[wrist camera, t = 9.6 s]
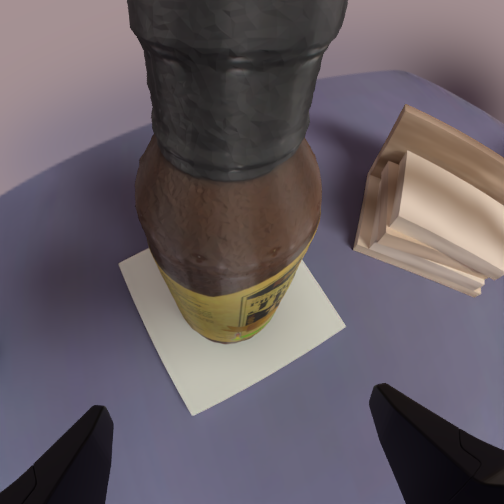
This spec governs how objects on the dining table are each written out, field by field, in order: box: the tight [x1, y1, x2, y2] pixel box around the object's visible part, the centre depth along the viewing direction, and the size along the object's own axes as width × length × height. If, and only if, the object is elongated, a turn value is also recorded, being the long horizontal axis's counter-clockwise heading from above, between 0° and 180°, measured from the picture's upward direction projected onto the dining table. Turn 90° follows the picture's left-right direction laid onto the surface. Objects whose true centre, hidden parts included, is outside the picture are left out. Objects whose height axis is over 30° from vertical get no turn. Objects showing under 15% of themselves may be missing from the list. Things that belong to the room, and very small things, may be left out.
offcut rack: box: [353, 104, 504, 297], centre depth 22 cm, size 9×13×9 cm
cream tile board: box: [118, 248, 346, 416], centre depth 22 cm, size 12×12×1 cm
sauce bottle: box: [127, 0, 348, 344], centre depth 12 cm, size 6×6×20 cm
